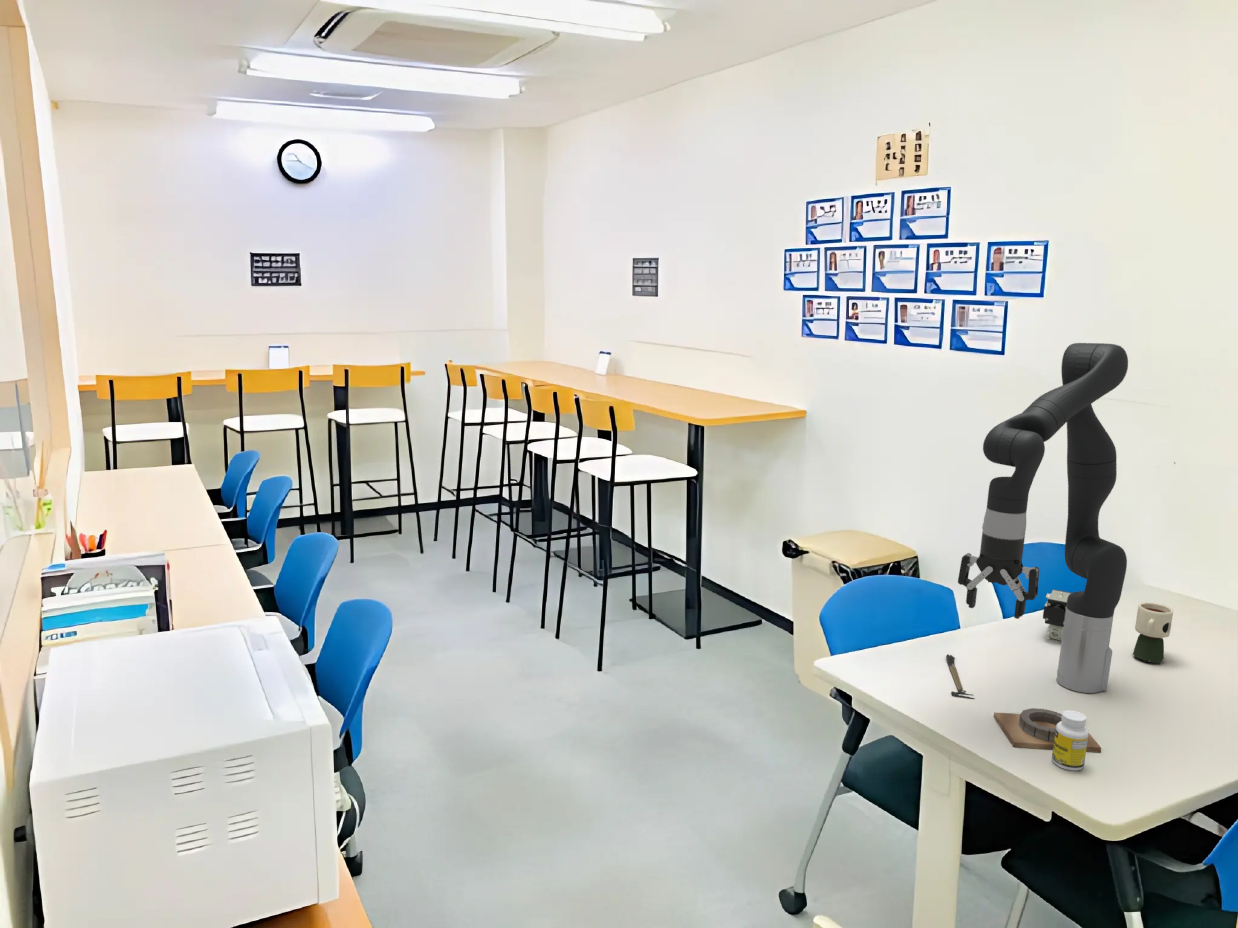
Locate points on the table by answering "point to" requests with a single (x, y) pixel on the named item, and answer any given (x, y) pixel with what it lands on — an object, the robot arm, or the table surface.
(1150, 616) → the character mug
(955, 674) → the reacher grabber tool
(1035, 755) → the table surface
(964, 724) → the table surface
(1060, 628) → the pneumatic valve
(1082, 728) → the supplement bottle
